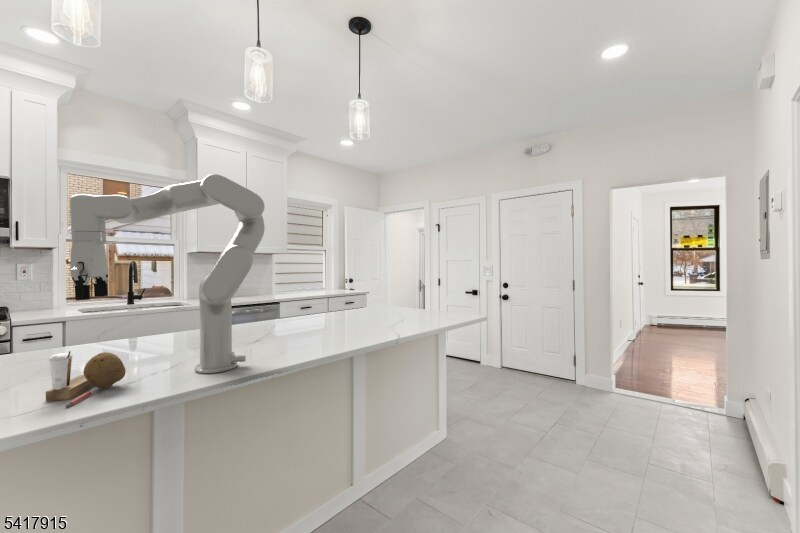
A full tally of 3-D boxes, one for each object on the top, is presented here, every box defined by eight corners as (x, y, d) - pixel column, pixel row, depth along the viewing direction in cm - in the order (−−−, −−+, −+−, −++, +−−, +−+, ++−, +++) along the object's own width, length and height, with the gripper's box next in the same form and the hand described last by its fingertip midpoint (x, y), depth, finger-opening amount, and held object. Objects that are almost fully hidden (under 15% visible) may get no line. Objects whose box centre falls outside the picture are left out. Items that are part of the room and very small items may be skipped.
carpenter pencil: (91, 394, 97) (91, 391, 97) (68, 407, 88) (68, 404, 88) (87, 394, 97) (87, 391, 97) (64, 408, 88) (64, 404, 88)
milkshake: (61, 392, 92) (60, 352, 92) (44, 390, 93) (43, 351, 93) (80, 386, 96) (79, 348, 96) (63, 384, 97) (63, 347, 97)
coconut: (79, 388, 102) (79, 353, 101) (118, 380, 109) (118, 347, 108) (88, 395, 96) (87, 358, 96) (128, 386, 103) (128, 351, 103)
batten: (99, 382, 107) (99, 373, 107) (69, 399, 93) (69, 389, 93) (79, 383, 106) (79, 375, 106) (45, 401, 92) (45, 391, 92)
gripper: (90, 240, 111) (92, 296, 111) (54, 236, 94) (57, 302, 95) (118, 240, 113) (121, 294, 113) (88, 236, 96) (91, 300, 97)
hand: (92, 298), depth 104 cm, fingers open, 9 cm apart
